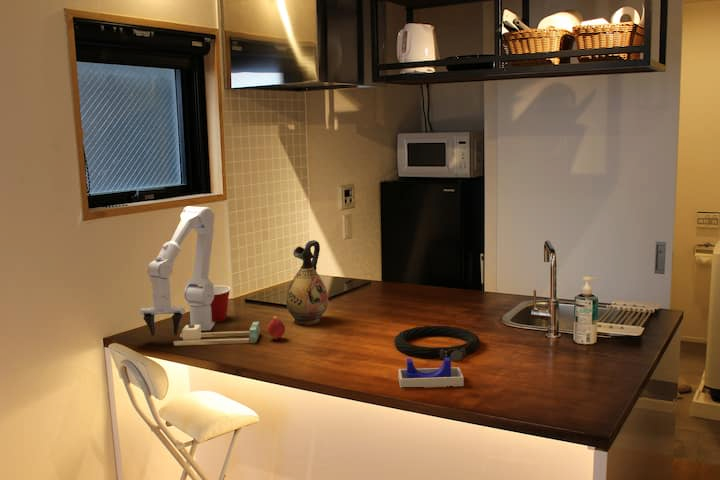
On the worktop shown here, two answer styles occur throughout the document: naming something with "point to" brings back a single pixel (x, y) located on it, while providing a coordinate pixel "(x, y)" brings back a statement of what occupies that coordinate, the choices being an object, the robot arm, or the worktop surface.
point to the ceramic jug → (307, 288)
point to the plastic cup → (220, 302)
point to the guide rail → (252, 333)
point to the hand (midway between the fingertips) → (164, 334)
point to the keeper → (191, 332)
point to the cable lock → (437, 352)
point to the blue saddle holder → (441, 372)
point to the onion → (276, 328)
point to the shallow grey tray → (431, 379)
